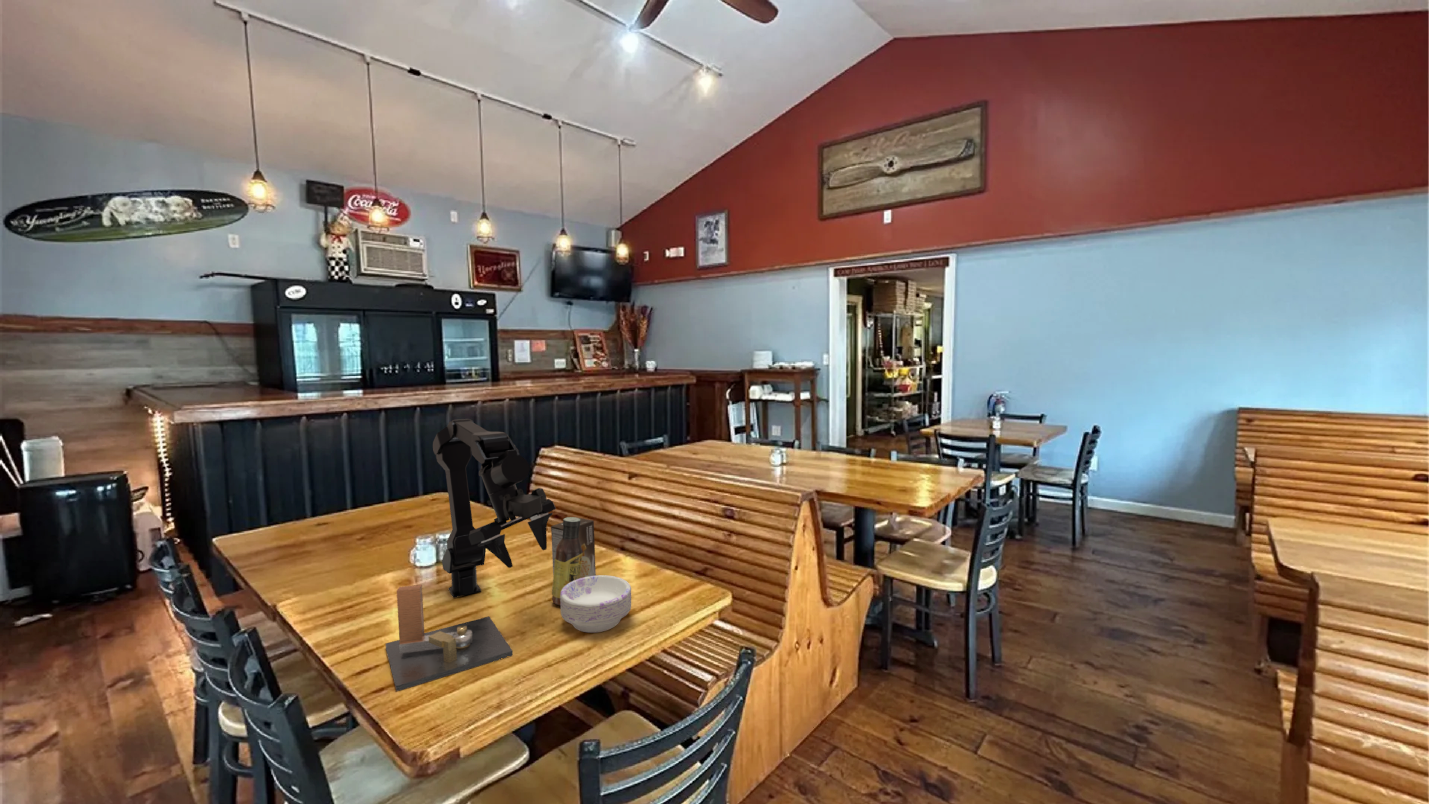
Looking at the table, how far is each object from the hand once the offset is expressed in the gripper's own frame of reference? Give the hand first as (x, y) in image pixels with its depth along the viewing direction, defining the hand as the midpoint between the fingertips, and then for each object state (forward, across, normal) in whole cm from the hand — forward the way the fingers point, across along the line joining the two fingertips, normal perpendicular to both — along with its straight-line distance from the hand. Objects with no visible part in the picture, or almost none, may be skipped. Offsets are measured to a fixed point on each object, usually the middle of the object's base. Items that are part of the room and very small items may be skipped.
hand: (528, 558), depth 120 cm
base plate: (+11, -16, +11) cm, 23 cm away
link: (+8, -18, +12) cm, 23 cm away
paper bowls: (+19, +8, -4) cm, 21 cm away
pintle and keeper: (+11, -18, +9) cm, 23 cm away
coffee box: (+13, +20, +15) cm, 29 cm away
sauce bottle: (+14, +11, +9) cm, 20 cm away
